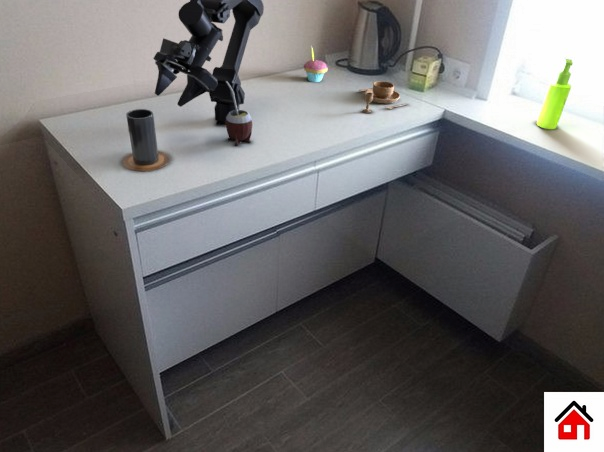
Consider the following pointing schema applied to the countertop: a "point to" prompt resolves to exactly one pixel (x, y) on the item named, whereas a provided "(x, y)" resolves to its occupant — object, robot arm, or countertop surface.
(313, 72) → the cupcake
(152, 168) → the trivet
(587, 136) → the countertop surface
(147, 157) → the grey metal tumbler
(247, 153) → the countertop surface
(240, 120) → the mate gourd
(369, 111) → the place setting
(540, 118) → the soap dispenser
